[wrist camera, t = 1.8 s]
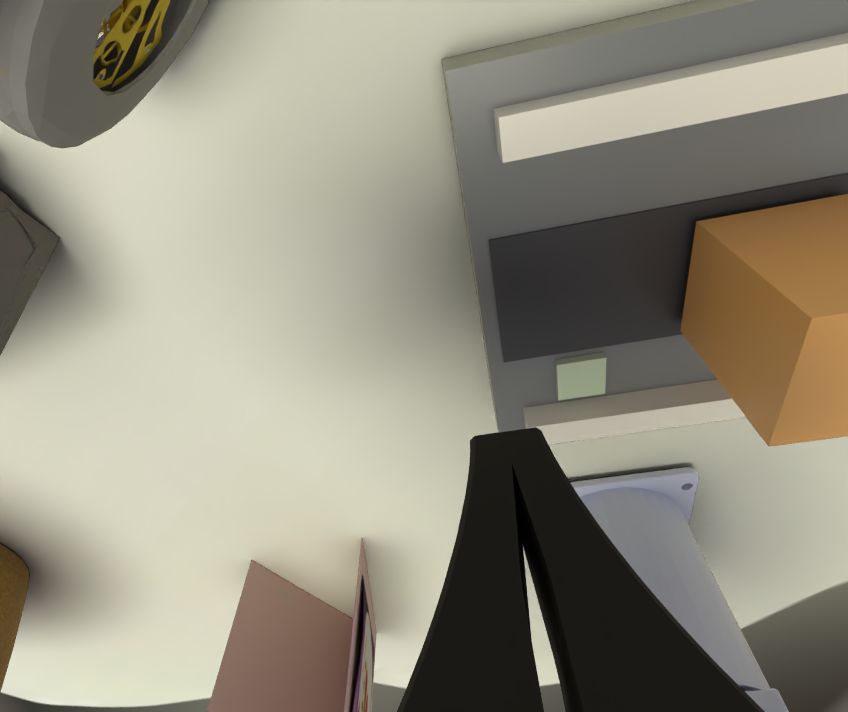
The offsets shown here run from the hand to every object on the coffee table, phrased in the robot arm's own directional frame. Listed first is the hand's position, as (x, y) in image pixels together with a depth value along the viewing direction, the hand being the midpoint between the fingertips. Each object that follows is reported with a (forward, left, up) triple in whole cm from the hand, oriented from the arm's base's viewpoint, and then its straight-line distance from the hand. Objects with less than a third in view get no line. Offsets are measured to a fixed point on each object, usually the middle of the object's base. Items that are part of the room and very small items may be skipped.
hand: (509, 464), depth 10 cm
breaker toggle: (0, -8, -6) cm, 10 cm away
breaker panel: (0, -8, -9) cm, 12 cm away
